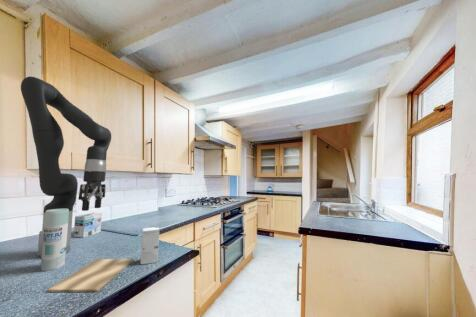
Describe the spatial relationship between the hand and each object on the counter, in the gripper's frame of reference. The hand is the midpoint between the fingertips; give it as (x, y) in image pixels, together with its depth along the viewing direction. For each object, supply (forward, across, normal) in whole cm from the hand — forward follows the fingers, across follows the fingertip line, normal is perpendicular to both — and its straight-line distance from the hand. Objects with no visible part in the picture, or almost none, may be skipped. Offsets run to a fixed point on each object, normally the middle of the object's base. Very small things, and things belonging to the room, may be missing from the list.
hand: (91, 209), depth 83 cm
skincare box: (+19, +8, +27) cm, 34 cm away
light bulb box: (+17, -30, -17) cm, 39 cm away
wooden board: (+19, +17, +13) cm, 28 cm away
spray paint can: (+19, +10, -6) cm, 22 cm away
